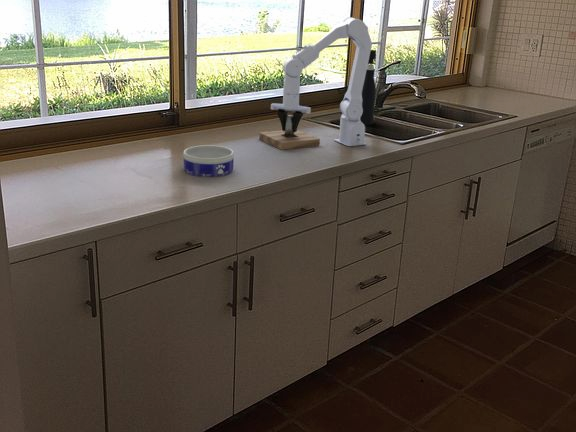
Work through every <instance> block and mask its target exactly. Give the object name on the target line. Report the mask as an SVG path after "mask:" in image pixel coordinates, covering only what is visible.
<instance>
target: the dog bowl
mask: <svg viewBox="0 0 576 432" xmlns="http://www.w3.org/2000/svg"><path fill="white" fill-rule="evenodd" d="M234 153H235V151H234V150H233V149H231V148H229V147H226V146H221V145H211V144H210V145H209V144H207V145H205V144H204V145H196V146H190V147H188V148H185V149H184V150H183V154H182V155H183V171H184V173H186V174H187V175H191V176H195V177H199V178H200V177H201V178H219V177H224V176H227V175H230V174H232V173H233V171H234V155H235V154H234Z"/></svg>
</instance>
